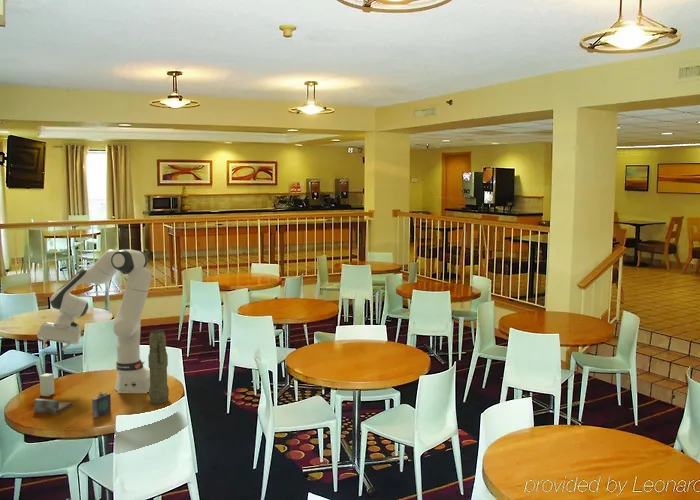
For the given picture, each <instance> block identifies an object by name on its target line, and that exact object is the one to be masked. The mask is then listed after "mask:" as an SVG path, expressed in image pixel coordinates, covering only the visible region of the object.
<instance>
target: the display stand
mask: <svg viewBox="0 0 700 500" xmlns="http://www.w3.org/2000/svg"><path fill="white" fill-rule="evenodd" d="M33 403H34V404H33V405H34V406H33V407H34V409H33V413H35V414H36V413H37V414H48V415H59V414H61V413H62V412H64V411H66V410H68V409H70V408H71V407H73V405H74V404H73V402H67V401H59V400H58V399H47V398H35V399H34V400H33Z"/></svg>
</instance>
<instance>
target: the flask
mask: <svg viewBox="0 0 700 500" xmlns="http://www.w3.org/2000/svg"><path fill="white" fill-rule="evenodd" d="M91 400H92V401H91V403H92V405H91V406H92V419H98V418H101V417H103V416H106V415H108V414H111V413H112V412H111V411H112V409H111V406H112V405H111V404H112V403H111V393H109V392H107V393H106V392H105V393H102V391H100V392H98V396H95V397H93V398H92V399H91Z"/></svg>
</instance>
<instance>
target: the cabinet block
mask: <svg viewBox="0 0 700 500" xmlns="http://www.w3.org/2000/svg"><path fill="white" fill-rule="evenodd" d="M39 384H40V385H39V390H40V391H39V392H40V396H42V397H51V395H54V394H55V375H54V373H43V374H41V375H39Z"/></svg>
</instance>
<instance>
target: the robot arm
mask: <svg viewBox="0 0 700 500" xmlns="http://www.w3.org/2000/svg"><path fill="white" fill-rule="evenodd" d="M148 263H149V258H148V256H147V254H146V253H145V252H143V251H142V250H138V249H137V250H135V249H129V248H128V249H120V250H116V249H107V250H106V251H105V252H104V253H102V254H101V255H100V256H99V257H98V259H97V260H96V262H94V264H92V265H91V266H90V267H86V268H82V269H80V270H79V271H78V272H77V273H76V274H74V275H73V276H72V277H71V278H69V280H68V281H67V282H66V283H65V284H64V285H62V286H61V287H60V288H58V289H57V290H56V291H55V292H54V293H52V295H51V297H50V299H49V303H50V305H51V307H52V308H53V309H56V310H59V313H58V315H57V316H56V319H55V320H54V323H53V322H48V321H46V322H43V323H42V324H41V325H40V328H39V330H38V331H37V334H36V336H37V339H39V340H42V342H43V343H42V348H45V349H47V347H48V344H47V343H46V342H47V341H50V342H56V343H62V344H65V345H64V346H62V348H61V350H62V351H64V352H66V351H67V348H69V347H70V346H71V345H78V344H79V343H80V340H81V337H82V336H81V332H82V327H81V326H80V324H79V323H77V322H75V321H76V320H75V319H79V318H82V317H84V316H85V315H86V314H87V312H88V309H89V308H90V307H89V302H88V301H87V300H85V299H84V298H82V297H80V296H77V295H75V294H72V293H71V292H72V291H73V290H74V289H76V288H77V286H78V285H81V284H86V283H87V284H94V285H103V284H107V283H108V282H109V281H111V280H112V278H113V277H114V275H116V273H117V272H118V271H119V272H120V273H121V274H123V275H127V278H128V279H127V282H126V286H125V289H124V292H123V296H122V300H121V303H120V306H119V308H118V311H117V314H116V317H115V320H114V323H113V328H112V329H113V333H114V335H115V336H116V337H117V341H116V342H117V343H116V362H115V365H116V367H115V368H116V380H115V381H116V382H115V386H114V390H115V391H116V392H117V394H146V393H145V392H149V388H150V370H149V369H147V368H145V367H144V364H145V363H146V361H145V360H144V361H142V360H141V351H140V349H141V348H140V344H141V343H140V342H141V325H142V324H141V323H142V322H141V316H142V313H143V310H144V308H145V304H146V301H147V297H148V294H149V290H150V286H151V279H152V272H151V271H150V269H148V268H147V265H148Z"/></svg>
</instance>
